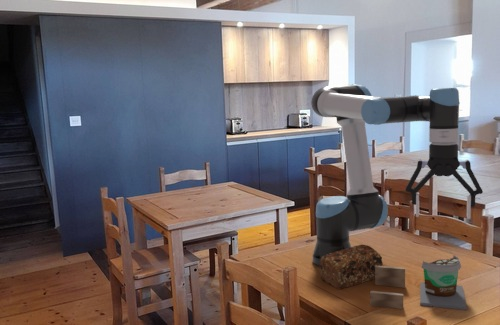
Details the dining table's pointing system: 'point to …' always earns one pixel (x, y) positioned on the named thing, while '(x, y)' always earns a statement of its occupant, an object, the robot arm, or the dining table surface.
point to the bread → (350, 266)
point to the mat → (443, 299)
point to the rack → (388, 278)
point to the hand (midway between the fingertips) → (442, 216)
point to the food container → (441, 277)
